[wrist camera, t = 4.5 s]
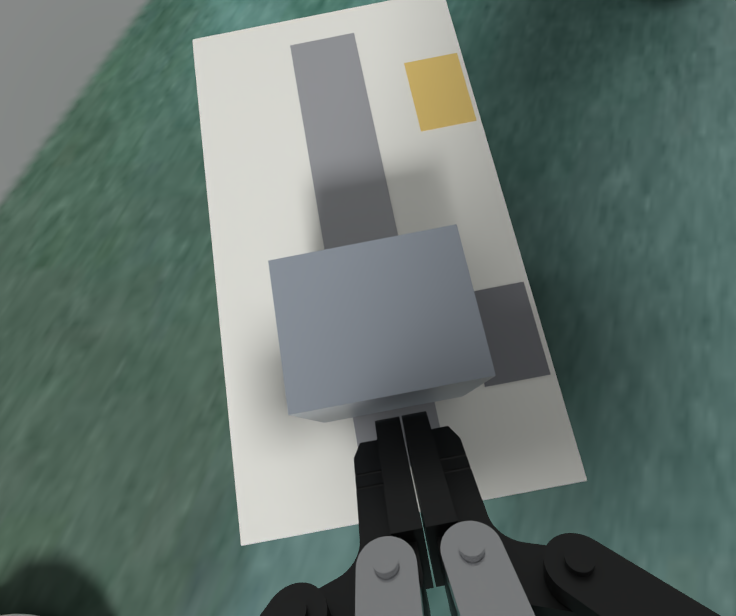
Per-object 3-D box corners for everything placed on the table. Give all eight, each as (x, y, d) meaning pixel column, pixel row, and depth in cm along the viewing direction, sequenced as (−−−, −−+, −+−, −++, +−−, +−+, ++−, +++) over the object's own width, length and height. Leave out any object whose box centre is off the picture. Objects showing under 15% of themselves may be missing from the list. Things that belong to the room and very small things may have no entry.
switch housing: (439, 26, 24) (442, -11, 22) (566, 475, 18) (588, 480, 16) (208, 71, 24) (191, 38, 22) (257, 534, 18) (240, 546, 16)
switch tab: (437, 290, 18) (456, 224, 12) (462, 396, 17) (495, 375, 11) (307, 315, 18) (268, 260, 12) (324, 422, 17) (288, 415, 11)
